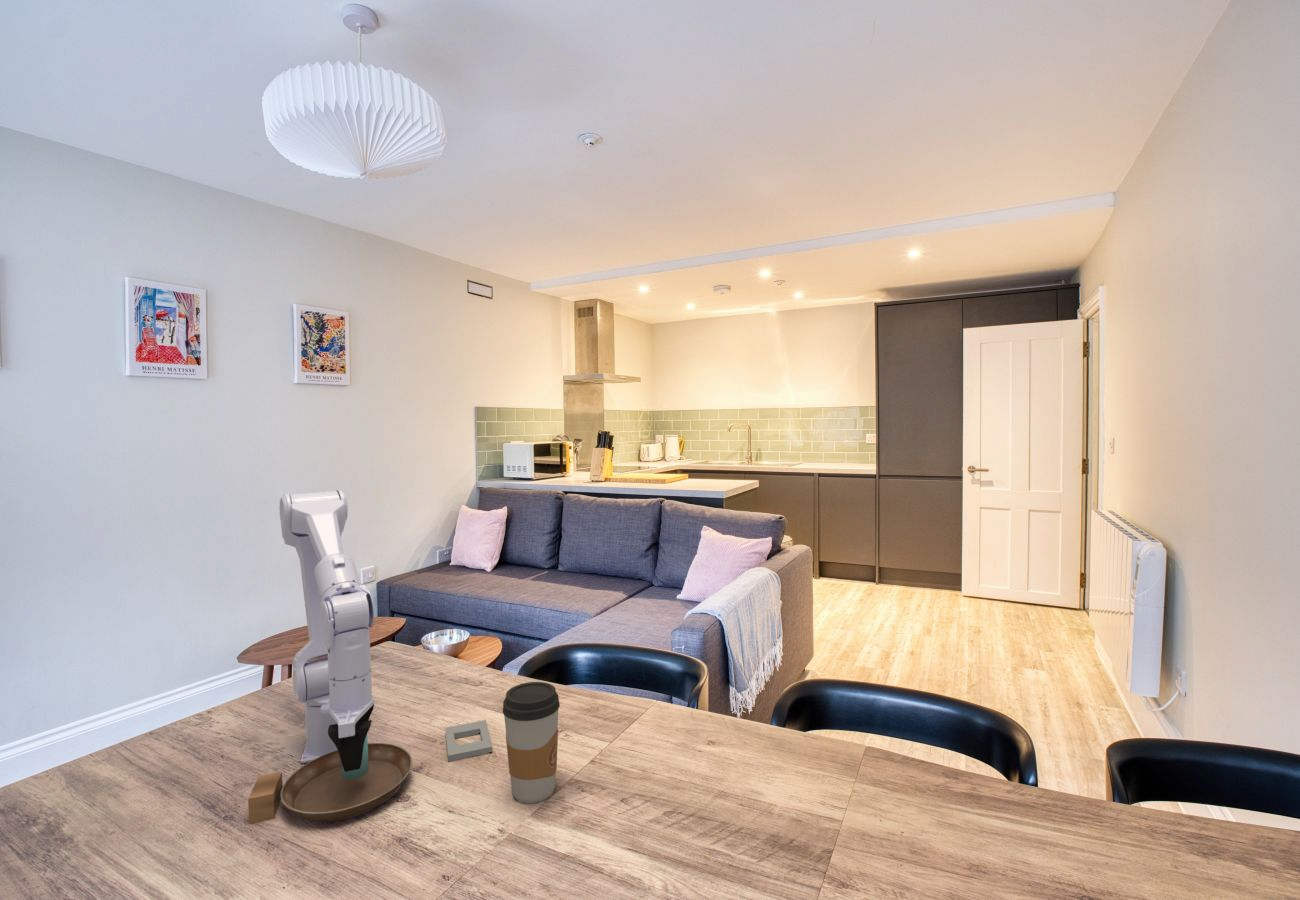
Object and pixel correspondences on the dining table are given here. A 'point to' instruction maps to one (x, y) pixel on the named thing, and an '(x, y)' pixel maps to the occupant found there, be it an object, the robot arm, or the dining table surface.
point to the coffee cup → (532, 739)
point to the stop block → (265, 797)
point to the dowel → (363, 768)
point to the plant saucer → (345, 784)
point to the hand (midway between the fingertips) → (353, 761)
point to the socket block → (468, 748)
